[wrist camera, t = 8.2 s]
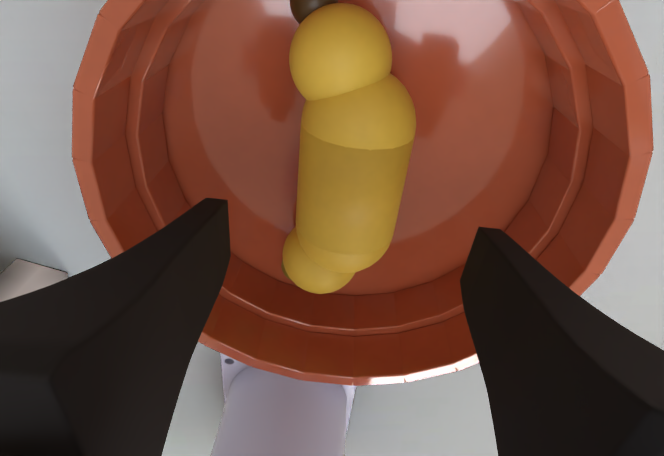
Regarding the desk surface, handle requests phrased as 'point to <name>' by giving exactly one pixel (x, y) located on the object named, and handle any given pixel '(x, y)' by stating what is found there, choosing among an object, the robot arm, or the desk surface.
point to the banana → (345, 144)
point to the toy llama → (27, 278)
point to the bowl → (421, 179)
